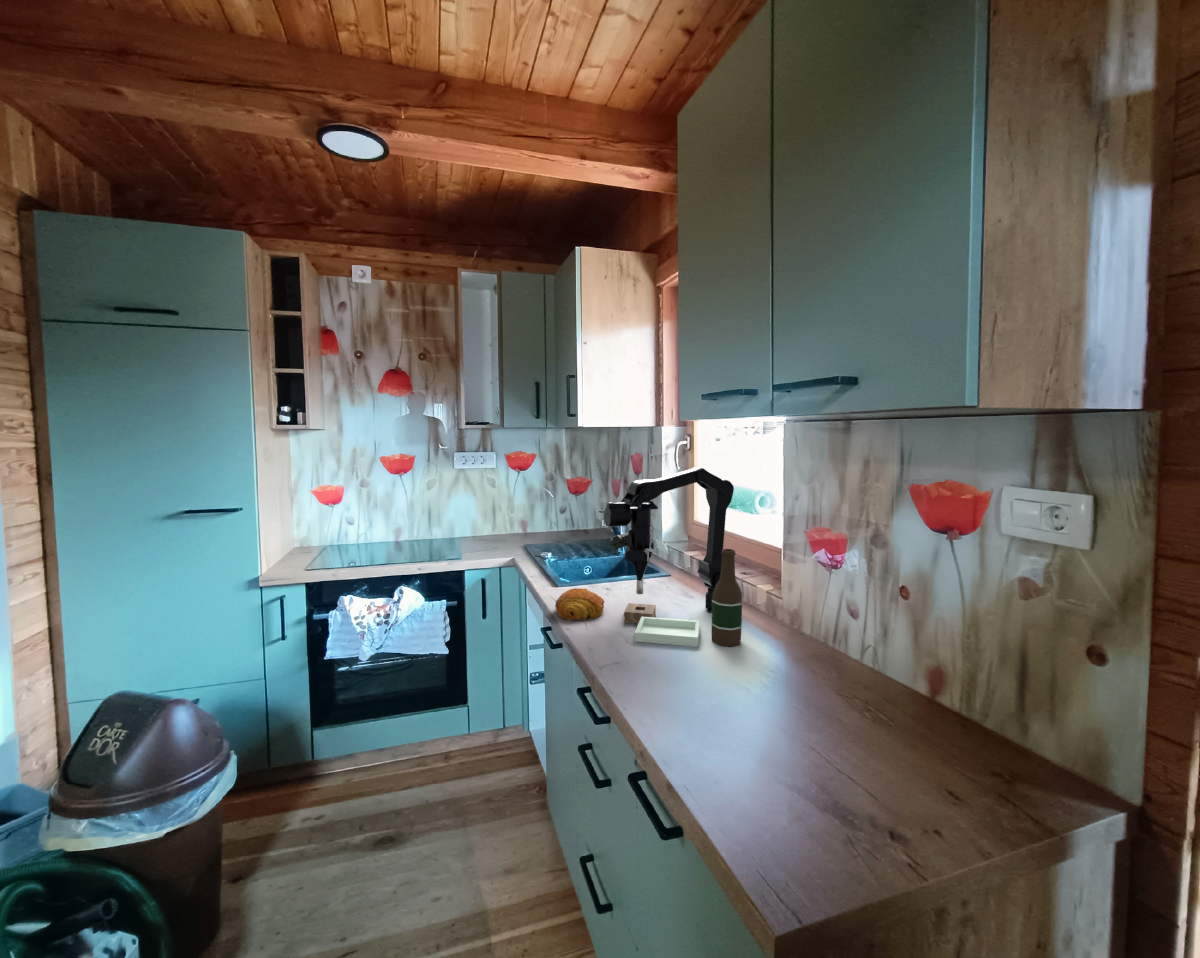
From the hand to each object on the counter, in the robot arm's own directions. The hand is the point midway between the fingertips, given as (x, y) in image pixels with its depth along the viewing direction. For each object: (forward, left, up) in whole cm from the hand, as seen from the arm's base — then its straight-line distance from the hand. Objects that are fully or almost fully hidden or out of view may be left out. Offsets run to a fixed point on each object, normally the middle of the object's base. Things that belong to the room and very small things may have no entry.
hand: (640, 578), depth 154 cm
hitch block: (0, 0, -12) cm, 12 cm away
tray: (-9, +11, -12) cm, 18 cm away
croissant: (+18, -1, -12) cm, 22 cm away
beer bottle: (-24, +12, -12) cm, 29 cm away
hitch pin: (0, 0, -4) cm, 4 cm away
